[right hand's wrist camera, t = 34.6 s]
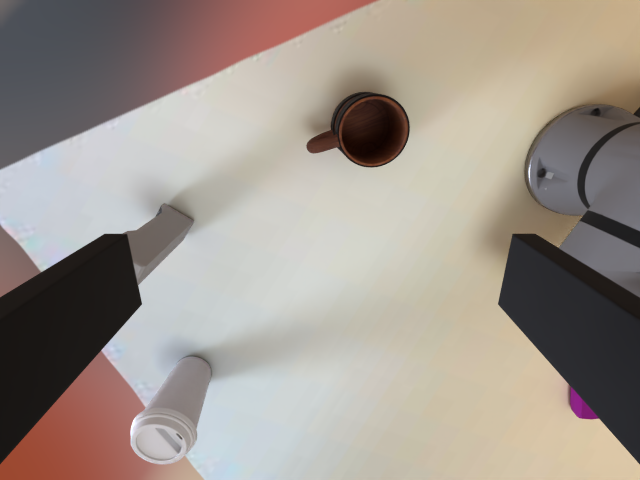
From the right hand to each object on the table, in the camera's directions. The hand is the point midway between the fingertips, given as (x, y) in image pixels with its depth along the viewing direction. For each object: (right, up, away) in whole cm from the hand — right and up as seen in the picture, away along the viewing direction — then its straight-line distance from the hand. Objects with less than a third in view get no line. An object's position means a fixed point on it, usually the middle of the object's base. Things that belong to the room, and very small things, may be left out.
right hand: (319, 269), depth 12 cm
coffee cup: (-23, -23, +52) cm, 62 cm away
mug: (+4, +17, +37) cm, 41 cm away
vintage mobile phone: (-22, +4, +42) cm, 48 cm away
